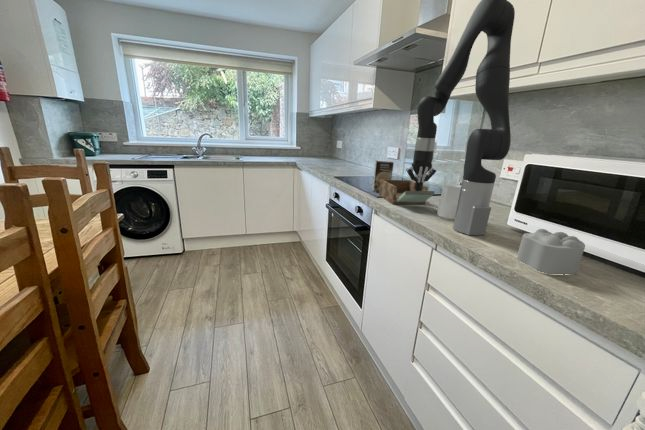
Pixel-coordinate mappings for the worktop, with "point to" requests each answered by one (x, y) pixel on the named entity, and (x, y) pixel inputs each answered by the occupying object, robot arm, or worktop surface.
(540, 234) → the lumpy-topped squat cylinder
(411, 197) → the panel
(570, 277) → the worktop surface
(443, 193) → the cylinder with rectangular tab
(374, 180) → the coffee box
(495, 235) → the worktop surface
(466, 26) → the robot arm
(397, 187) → the box
